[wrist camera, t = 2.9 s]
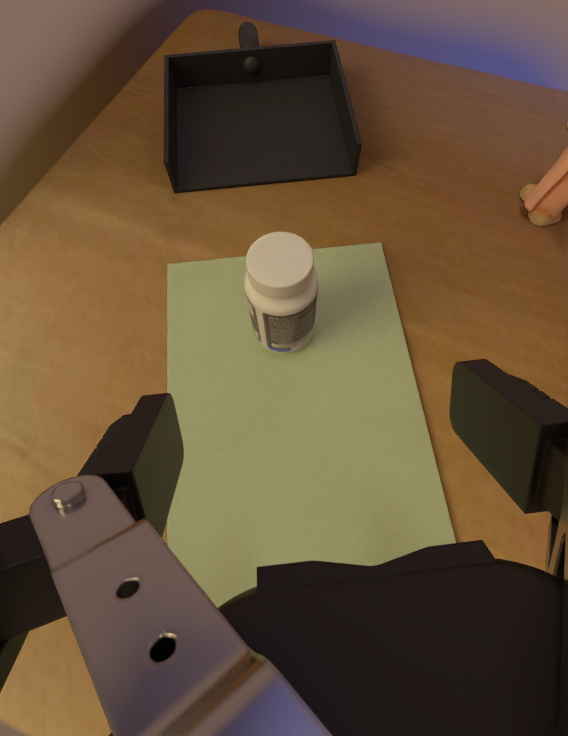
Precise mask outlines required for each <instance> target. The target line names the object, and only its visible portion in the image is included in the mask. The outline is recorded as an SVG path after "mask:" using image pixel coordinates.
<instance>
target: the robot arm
mask: <svg viewBox="0 0 568 736" xmlns="http://www.w3.org/2000/svg"><path fill="white" fill-rule="evenodd" d="M450 421H451V425H452V427H453V430H454V431H455V433H456V434H457V435H458V436H459V438H460V439H461V440H462V441H463V442H464V443H465V445H466V446H467V447H468V448H469V449H470V450H471V452H472V453H473V454H474V455H475V456H476V457H477V459H478V460H479V461H480V462H481V463H482V464H483V466H484V467H485V468H486V469H487V470H488V471H489V473H490V474H491V475H492V476H493V477H494V478H495V480H496V481H497V482H498V483H499V484H500V485H501V487H502V488H503V489H504V490H505V491H506V492H507V494H508V495H509V496H510V497H511V498H512V499H513V501H514V502H515V503H516V504H517V505H518V506H519V507H520V509H521V510H522V511H523V512H524V513H525V514H527V513H536V512H544V511H549V512H550V513H551V519H550V523H549V528H548V540H547V551H546V562H545V571H543V570H540V569H537V568H534V567H532V566H528V565H525V564H521V563H517V562H513V561H508V560H503V559H495V558H494V557H493V555H492V554H491V552H490V551H489V549H488V548H487V546H486V545H485V543H484V542H483V540H478V541H470V542H462V543H453V544H445V545H436V546H428V547H425V548H422V549H420V550H417V551H414V552H412V553H409V554H406V555H404V556H401V557H398V558H396V559H393V560H390V561H388V562H385V563H382V564H379V565H375V566H365V565H355V564H345V563H335V562H325V561H315V560H311V561H303V562H294V563H286V564H278V565H269V566H261V567H257V586H256V587H254V588H251V589H249V590H246V591H244V592H242V593H240V594H238V595H236V596H234V597H233V598H231V599H230V600H228V601H227V602H225V603H223V604H222V605H221V606H219V607H218V608H217V607H216V606H215V604H214V603H213V602H212V601H211V599H210V598H209V597H208V596H207V594H206V593H205V592H204V591H203V589H202V588H201V587H200V586H199V584H198V583H197V582H196V581H195V579H194V578H193V577H192V576H191V574H190V573H189V572H188V570H187V569H186V568H185V567H184V565H183V564H182V563H181V562H180V560H179V559H178V558H177V557H176V555H175V554H174V553H173V552H172V550H171V549H170V548H169V547H168V545H167V544H166V543H165V542H164V540H163V539H162V536H163V532H164V528H165V525H166V521H167V518H168V514H169V511H170V507H171V504H172V500H173V497H174V493H175V489H176V486H177V482H178V479H179V475H180V472H181V468H182V465H183V459H184V447H183V440H182V436H181V431H180V427H179V422H178V417H177V413H176V408H175V404H174V400H173V397H172V395H171V394H170V393H162V394H153V395H144V396H142V397H141V398H140V400H139V401H138V403H137V405H136V407H135V408H134V410H133V412H132V413H131V414H127V415H123V416H122V417H121V418H119V419H118V420H117V421H115V422H114V423H113V424H111V425H110V427H109V428H108V430H107V431H106V433H105V434H104V436H103V439H101V440H100V442H99V443H98V445H97V446H96V447H97V449H94V451H93V453H92V454H91V456H90V457H89V459H88V460H87V462H86V463H85V465H84V466H83V468H82V469H81V471H80V472H79V474H78V475H77V476H76V477H72V478H69V479H66V480H63V481H61V482H59V483H57V484H55V485H53V486H51V487H50V488H48V489H47V490H45V491H44V492H43V493H41V494H40V495H39V496H38V497H37V498H36V499H35V500H34V502H33V503H32V505H31V507H30V511H29V515H26V516H23V517H20V518H16V519H13V520H10V521H7V522H4V523H1V524H0V692H1V690H2V688H3V686H4V684H5V681H6V679H7V677H8V675H9V673H10V671H11V669H12V667H13V664H14V662H15V660H16V658H17V656H18V654H19V652H20V650H21V647H22V645H23V643H24V641H25V639H26V637H27V635H28V632H29V631H31V630H33V629H35V628H38V627H40V626H43V625H45V624H48V623H50V622H53V621H55V620H58V619H60V618H63V617H65V616H67V617H68V619H69V622H70V625H71V627H72V630H73V632H74V635H75V638H76V640H77V643H78V645H79V648H80V651H81V653H82V656H83V658H84V661H85V664H86V666H87V669H88V671H89V674H90V676H91V679H92V682H93V684H94V687H95V689H96V692H97V695H98V697H99V700H100V702H101V705H102V708H103V710H104V713H105V715H106V718H107V721H108V723H109V726H110V728H111V731H112V733H111V734H110V735H109V736H568V408H566V407H565V406H563V405H562V404H560V403H559V402H557V401H556V400H554V399H550V396H548V395H547V394H545V393H544V392H542V391H539V389H538V388H536V387H535V386H533V385H532V384H530V383H529V382H527V381H526V380H523V379H520V378H518V377H515V376H512V375H509V374H507V373H505V372H504V371H503V370H501V369H500V368H498V367H497V366H495V365H494V364H492V363H491V362H489V361H488V360H486V359H479V360H470V361H461V362H457V363H456V364H455V365H454V368H453V374H452V387H451V399H450Z"/></svg>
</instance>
